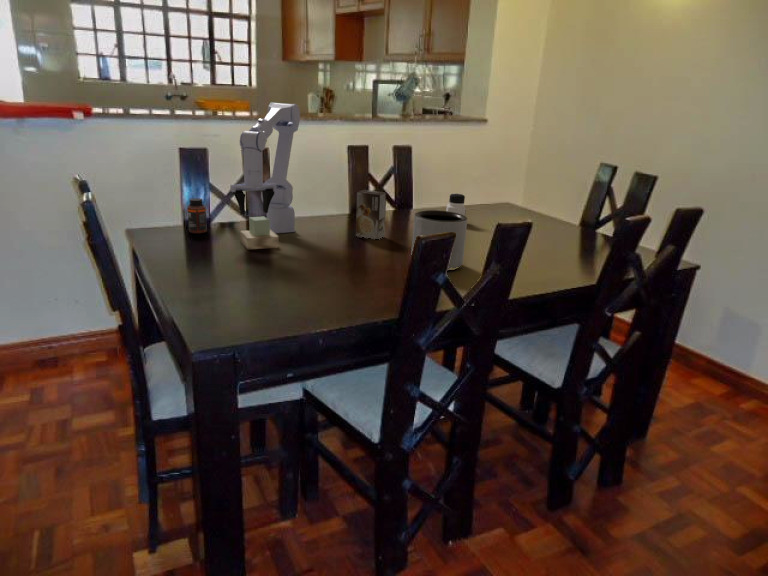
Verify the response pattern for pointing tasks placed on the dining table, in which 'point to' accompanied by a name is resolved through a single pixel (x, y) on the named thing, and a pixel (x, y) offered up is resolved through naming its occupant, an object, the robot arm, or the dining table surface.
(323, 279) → the dining table surface
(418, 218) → the planter
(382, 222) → the coffee box
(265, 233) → the sage cube
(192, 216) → the supplement bottle
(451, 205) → the medicine bottle
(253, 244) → the birch base
